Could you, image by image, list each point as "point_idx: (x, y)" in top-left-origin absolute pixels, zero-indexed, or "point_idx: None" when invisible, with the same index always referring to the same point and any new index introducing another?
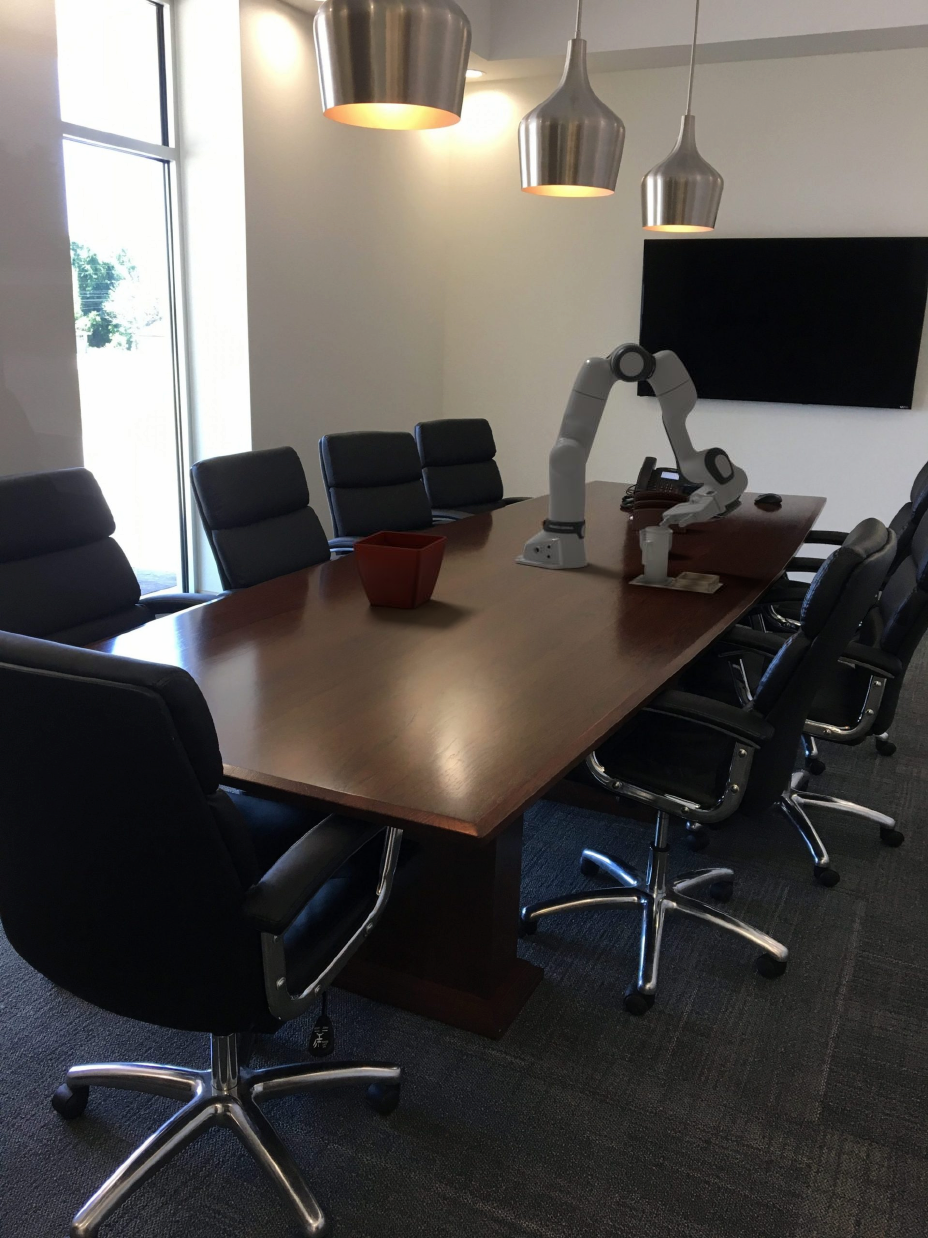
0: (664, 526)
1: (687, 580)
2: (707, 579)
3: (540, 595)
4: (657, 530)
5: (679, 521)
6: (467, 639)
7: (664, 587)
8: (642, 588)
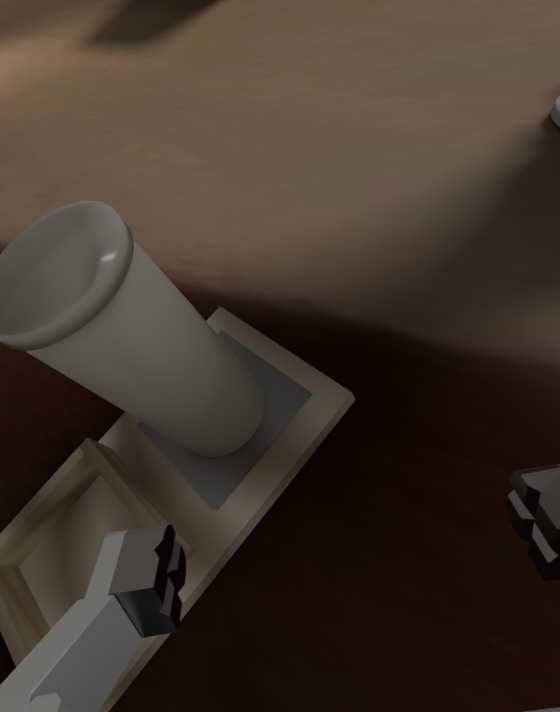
0: (516, 510)
1: (48, 481)
2: None
3: (214, 115)
4: (7, 252)
5: (146, 534)
6: (37, 71)
7: (126, 412)
8: None
